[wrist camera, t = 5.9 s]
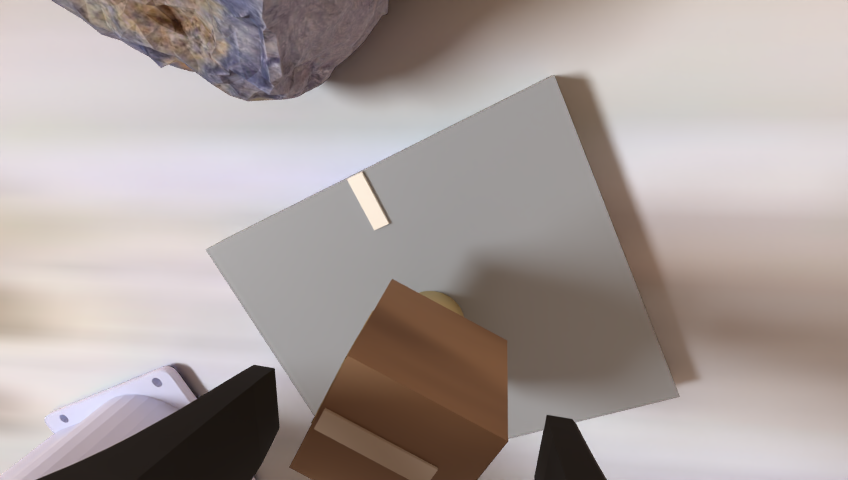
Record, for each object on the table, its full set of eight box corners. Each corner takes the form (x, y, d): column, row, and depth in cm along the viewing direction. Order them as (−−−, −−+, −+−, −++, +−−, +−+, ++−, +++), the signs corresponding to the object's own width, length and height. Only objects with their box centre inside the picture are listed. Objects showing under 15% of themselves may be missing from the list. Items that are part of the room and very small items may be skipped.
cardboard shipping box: (447, 425, 15) (427, 543, 11) (342, 369, 15) (286, 468, 11) (507, 340, 13) (508, 443, 9) (390, 277, 13) (344, 356, 9)
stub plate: (360, 458, 20) (337, 518, 18) (221, 240, 18) (168, 270, 15) (670, 378, 16) (703, 439, 13) (550, 75, 13) (562, 73, 11)
